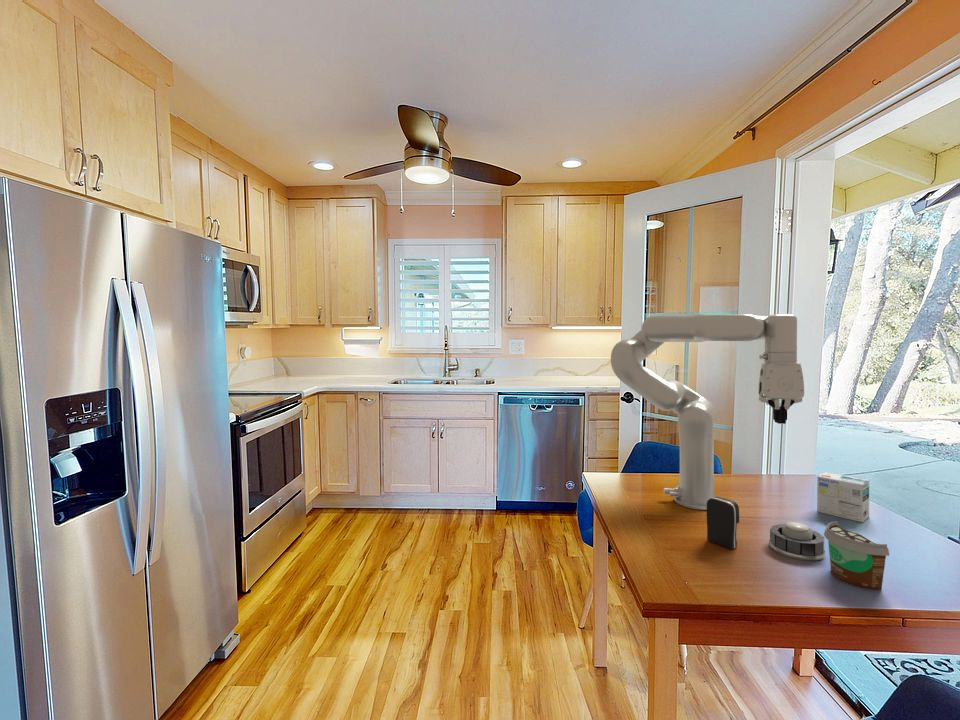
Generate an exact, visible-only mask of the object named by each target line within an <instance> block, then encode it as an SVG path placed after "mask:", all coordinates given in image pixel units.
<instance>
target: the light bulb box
mask: <svg viewBox="0 0 960 720" xmlns="http://www.w3.org/2000/svg"><path fill="white" fill-rule="evenodd" d="M816 486H817V489H816V490H817V491H816V492H817V495H816V496H817V499H816V500H817V506H816V507H817V509H816V511H817V512H818V513H821V514H826V515H830V516H834V517H839V518H843V519H847V520H851V521H855V522H859V523H864V522H865V521H866V520H867V519H869V517H870V480H869V479H865V478H859V477H853V476H850V475H849V476H848V475H843V474H836V473H831V472H827V471H826V472H823V473H820V474H819V475H818V476H817V484H816Z"/></svg>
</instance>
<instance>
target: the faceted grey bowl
mask: <svg viewBox="0 0 960 720" xmlns="http://www.w3.org/2000/svg"><path fill="white" fill-rule="evenodd" d="M783 524H784V523H783ZM783 524H781V523H780V524H774V525H771V527H770V529H769V547H770V548H771V550H773V551H774V552H776V553H778V554H780V555H782V556H785V557H787V558H792V559H795V560H800V561H807V562H816V561H822V560H824V559H825V557H826V550H825V536H823V535H822V534H821V533H819V532H818V531H815V530H813V529H812V531H813V540H810V541H805V540H797V539H792V538H789V537H786V536H784V535H782V525H783Z"/></svg>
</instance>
